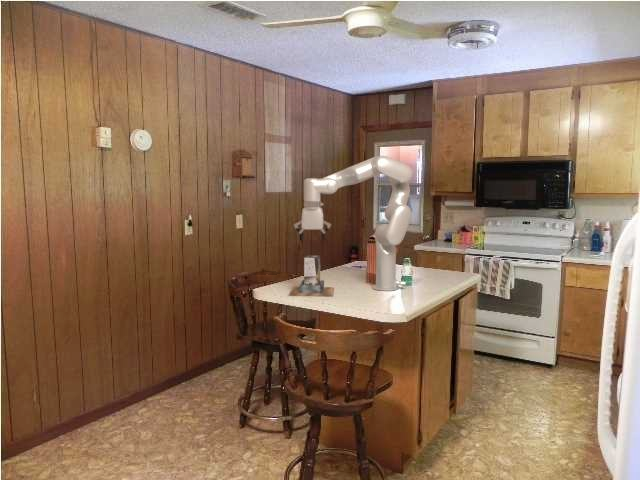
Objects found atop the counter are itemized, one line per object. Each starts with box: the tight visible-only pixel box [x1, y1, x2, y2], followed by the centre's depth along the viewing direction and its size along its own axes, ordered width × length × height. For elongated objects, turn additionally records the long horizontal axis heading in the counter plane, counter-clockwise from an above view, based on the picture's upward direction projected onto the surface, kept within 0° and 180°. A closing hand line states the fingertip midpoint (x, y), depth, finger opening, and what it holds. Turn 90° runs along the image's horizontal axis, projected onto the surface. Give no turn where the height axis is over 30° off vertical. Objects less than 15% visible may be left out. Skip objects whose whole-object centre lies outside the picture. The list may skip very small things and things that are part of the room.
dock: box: [288, 279, 335, 298], centre depth 231 cm, size 20×15×5 cm
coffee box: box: [303, 254, 321, 285], centre depth 231 cm, size 9×6×16 cm
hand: (312, 242), depth 229 cm, fingers open, 9 cm apart
